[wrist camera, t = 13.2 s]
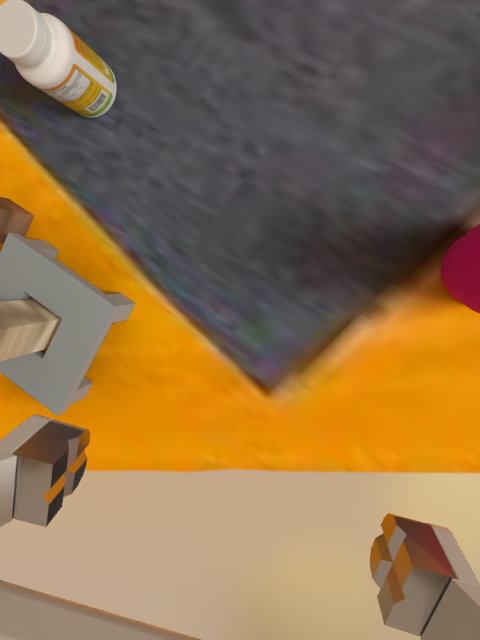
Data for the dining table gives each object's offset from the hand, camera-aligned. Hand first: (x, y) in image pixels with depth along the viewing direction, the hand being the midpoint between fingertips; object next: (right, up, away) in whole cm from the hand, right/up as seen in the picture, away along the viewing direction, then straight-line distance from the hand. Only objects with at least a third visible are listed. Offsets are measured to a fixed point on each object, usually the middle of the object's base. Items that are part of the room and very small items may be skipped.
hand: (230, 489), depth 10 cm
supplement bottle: (-14, +27, +27) cm, 41 cm away
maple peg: (-19, +5, +31) cm, 36 cm away
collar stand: (-19, +5, +31) cm, 36 cm away
